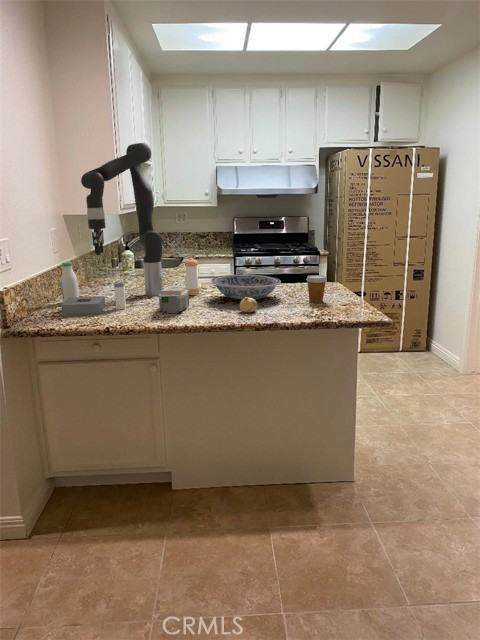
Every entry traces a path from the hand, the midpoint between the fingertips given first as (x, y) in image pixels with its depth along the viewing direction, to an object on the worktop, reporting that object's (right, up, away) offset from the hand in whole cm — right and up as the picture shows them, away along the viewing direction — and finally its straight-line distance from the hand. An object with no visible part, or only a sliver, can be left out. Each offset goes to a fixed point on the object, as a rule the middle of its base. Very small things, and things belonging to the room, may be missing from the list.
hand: (99, 253), depth 213 cm
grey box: (+36, -26, -3) cm, 44 cm away
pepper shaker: (+40, -18, +28) cm, 52 cm away
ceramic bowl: (+69, -21, +15) cm, 73 cm away
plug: (+10, -26, -1) cm, 28 cm away
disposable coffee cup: (+102, -22, +7) cm, 105 cm away
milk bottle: (-18, -23, +13) cm, 32 cm away
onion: (+69, -28, -11) cm, 75 cm away
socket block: (-5, -27, -5) cm, 28 cm away
